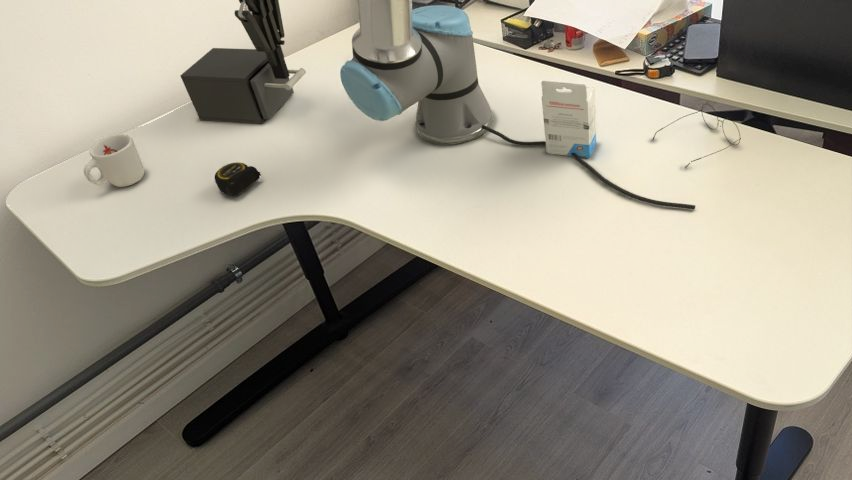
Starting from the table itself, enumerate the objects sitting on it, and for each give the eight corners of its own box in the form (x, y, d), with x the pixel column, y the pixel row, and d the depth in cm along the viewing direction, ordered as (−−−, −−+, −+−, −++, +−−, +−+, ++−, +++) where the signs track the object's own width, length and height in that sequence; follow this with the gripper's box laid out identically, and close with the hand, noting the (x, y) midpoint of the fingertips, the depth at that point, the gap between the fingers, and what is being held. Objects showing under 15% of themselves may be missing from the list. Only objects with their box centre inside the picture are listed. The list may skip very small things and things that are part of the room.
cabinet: (289, 94, 162) (274, 49, 155) (261, 124, 154) (244, 78, 147) (230, 91, 167) (212, 47, 159) (199, 120, 158) (179, 75, 151)
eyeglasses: (688, 171, 126) (690, 146, 122) (648, 138, 134) (649, 114, 131) (742, 151, 128) (746, 126, 125) (700, 120, 137) (702, 96, 133)
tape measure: (237, 202, 133) (229, 185, 131) (212, 192, 136) (205, 176, 134) (264, 182, 137) (257, 165, 135) (239, 173, 140) (233, 157, 138)
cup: (109, 203, 137) (88, 168, 132) (88, 191, 141) (67, 157, 136) (157, 174, 143) (140, 139, 138) (136, 163, 147) (117, 129, 142)
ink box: (597, 144, 135) (596, 71, 125) (589, 159, 131) (587, 85, 121) (553, 139, 137) (549, 67, 127) (545, 153, 134) (539, 80, 124)
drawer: (318, 93, 159) (307, 56, 153) (294, 121, 151) (281, 82, 145) (237, 89, 165) (223, 53, 159) (210, 115, 157) (194, 78, 151)
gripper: (244, -52, 141) (281, 61, 157) (207, -26, 132) (251, 91, 148) (277, -52, 139) (312, 62, 155) (243, -25, 130) (283, 93, 146)
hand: (282, 76), depth 152 cm, fingers closed
